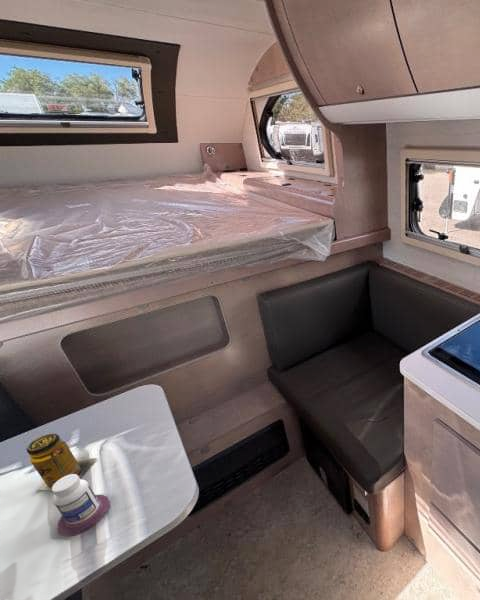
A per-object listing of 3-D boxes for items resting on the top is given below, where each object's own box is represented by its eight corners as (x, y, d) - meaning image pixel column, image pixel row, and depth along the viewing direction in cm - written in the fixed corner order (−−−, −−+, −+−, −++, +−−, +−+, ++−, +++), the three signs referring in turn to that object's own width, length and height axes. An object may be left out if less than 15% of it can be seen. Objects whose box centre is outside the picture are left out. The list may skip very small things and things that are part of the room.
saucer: (66, 544, 65) (65, 542, 65) (52, 521, 69) (50, 519, 69) (116, 509, 72) (115, 506, 72) (101, 490, 76) (99, 487, 75)
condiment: (36, 490, 76) (10, 454, 70) (68, 459, 83) (47, 424, 78) (68, 489, 76) (45, 453, 71) (98, 458, 83) (79, 424, 78)
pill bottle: (73, 505, 72) (54, 476, 67) (103, 496, 74) (86, 467, 69) (62, 529, 67) (40, 499, 63) (94, 519, 69) (75, 489, 65)
